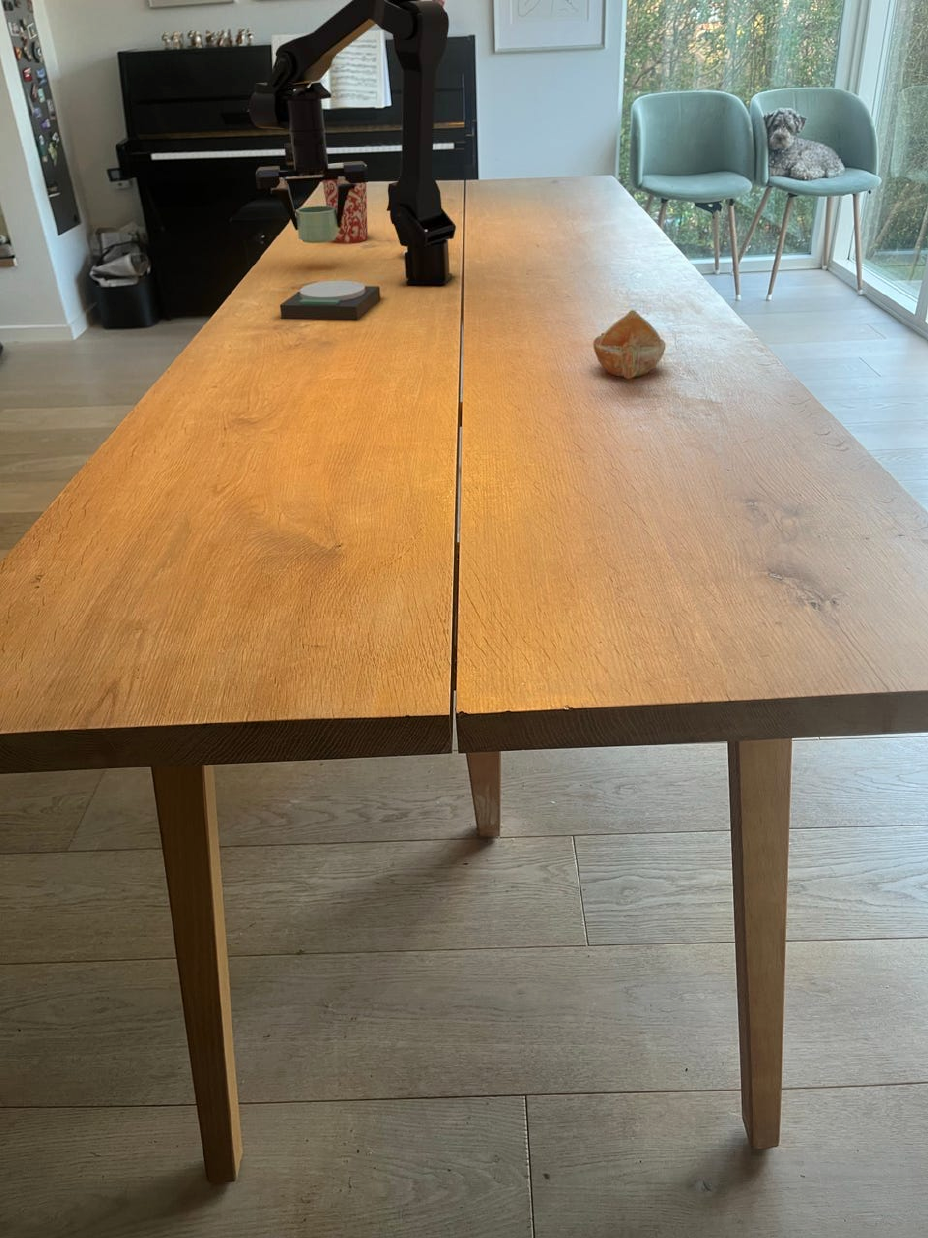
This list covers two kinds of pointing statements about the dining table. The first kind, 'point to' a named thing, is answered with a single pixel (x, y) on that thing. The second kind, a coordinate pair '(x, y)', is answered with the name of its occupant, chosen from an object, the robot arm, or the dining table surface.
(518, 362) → the dining table surface
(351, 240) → the mug
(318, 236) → the bowl
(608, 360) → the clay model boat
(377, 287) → the scale
